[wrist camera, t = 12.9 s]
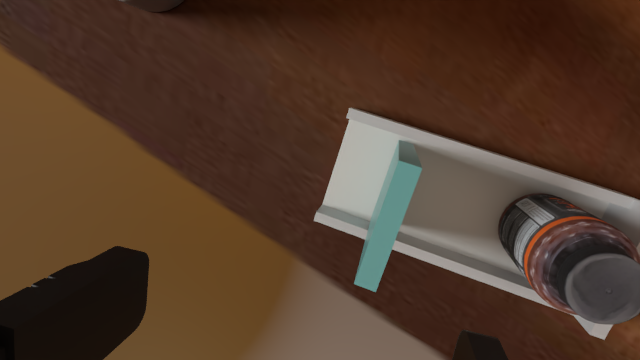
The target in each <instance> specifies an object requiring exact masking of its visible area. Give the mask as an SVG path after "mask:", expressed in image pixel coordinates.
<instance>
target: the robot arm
mask: <svg viewBox="0 0 640 360" xmlns="http://www.w3.org/2000/svg"><path fill="white" fill-rule="evenodd" d="M118 1H121V2H124V3H126V4H129V5H131V6H134V7H137V8H139V9H142V10H145V11H149V12H162V11H167V10H170V9H172V8H174V7H176V6H178V5H179V4H180V3H182V2H183V1H184V0H118ZM148 271H149V258H148V255H147V254H146V253H145V252H141V251H137V250H133V249H129V248H124V247H120V246H115V247H113V248H111V249H109V250H107V251H105V252H103V253H102V254H100V255H98V256H96V257H94V258H92V259H90V260H88V261H84V262H81V263H77V264H73V265H70V266H67V267H65V268H63V269H61V270H59V271H57V272H55V273H53V274H51V275H50V276H48V278H47V279H46V278H44V279H42V280H40V281H38V282H36V283H34V284H32V286H31V287H26V288H24V289H22V290H21V291H19V292H17V293H15V294H13V295H11V296H9V297H7V298H5V299H3V300H1V301H0V360H103V359H104V358H105V357H106V356H107V355H109V354H110V353H111V352H112V351H113V350H114V349H115V348H116V347H117V346H118V345H120V344H121V343H122V342H123V341H124V340H125V339H126V338H127V337H128V336H130V335H131V334H132V333H133V332H134V331H135V330H136V329H137V327H138V326H139V324H140V323H141V321H142V319H143V316H144V313H145V310H146V301H147V287H148ZM452 360H508V358H507V356H506V354H505V352H504V350H503V347H502V345H501V343H500V341H499V340H498V338H496V337H492V336H487V335H483V334H479V333H475V332H471V331H467V330H462V331H461V333H460V335H459V337H458V340H457V344H456V348H455V351H454V355H453V358H452Z"/></svg>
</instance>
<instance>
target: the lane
mask: <svg viewBox="0 0 640 360" xmlns="http://www.w3.org/2000/svg"><path fill="white" fill-rule="evenodd" d="M346 118H348V119H350V120H349V123H348V126H347V129H346V132H345V135H344V138H343V142H342V145H341V148H340V151H339V154H338V157H337V160H336V163H335V167H334V170H333V173H332V176H331V179H330V182H329V185H328V188H327V192H326V195H325V198H324V201H323V204H322V206H321V207H320V208H319V209H318V210H317V212H316V215H315V218H314V221H316V222H319V223H322V224H325V225H327V226H330V227H333V228H335V229H338V230H341V231H344V232H346V233H349V234H352V235H355V236H357V237H360V238H363V239H366V236H367V232H368V228H369V224H370V220H371V217H372V214H373V211H374V208H375V205H376V203H377V200H378V197H379V194H380V191H381V188H382V186H383V183H384V180H385V177H386V174H387V172H388V169H389V166H390V163H391V160H392V158H393V155H394V152H395V149H396V146H397V144H398V141H399V140H402V141H405V142H408V143H411V144H413V145H414V148H415V150H416V153H417V155H418V158H419V161H420V163H421V166H422V171H421V173H420V176H419V179H418V181H417V184H416V187H415V189H414V192H413V195H412V197H411V200H410V202H409V205H408V208H407V210H406V213H405V216H404V218H403V221H402V224H401V226H400V229H399V232H398V234H397V237H396V240H395V242H394V245H393V247H392V249H393V250H396V251H398V252H401V253H404V254H407V255H409V256H412V257H415V258H418V259H420V260H423V261H426V262H429V263H431V264H434V265H437V266H440V267H442V268H445V269H448V270H451V271H453V272H456V273H459V274H461V275H464V276H467V277H470V278H472V279H475V280H478V281H481V282H483V283H486V284H489V285H492V286H494V287H497V288H500V289H503V290H505V291H508V292H511V293H513V294H516V295H519V296H522V297H524V298H527V299H530V300H533V301H535V302H538V303H541V304H544V305H546V306H549V307H552V308H554V307H553V306H551V305H549V304H548V303H547V302H546V301H544V300H543V299H542V298H541V297H540V296H539V295H538V294H537V293H536V292H535V290H534V289H533V288H532V286H531V285H530V284H529V282H528V281H527V280H526V278H525V277H524V276H523V274H522V273H521V272H520V270H519V269H518V267H517V266H516V265H515V263H514V262H513V261H512V259H511V258H510V257H509V255H508V254H507V252H506V251H505V249H504V248H503V246H502V244H501V241H500V239H499V235H498V224H499V220H500V217H501V215H502V213H503V212H504V210H505V209H506V208H507V207H508V206H509V204H511V203H512V202H513V201H515V200H516V199H518V198H520V197H522V196H525V195H528V194H533V193H544V194H550V195H554V196H557V197H560V198H562V199H565V200H566V201H569V202H570V203H572V204H573V205H576V206H577V207H579V208H581V209H583V210H584V211H586V212H588V213H590V214H593V215H594V216H596V217H598V218H600V219H601V220H604V221H606V222H607V223H608V224H610V225H612V226H614V227H616V228H617V229H619V230H620V231H622V232H623V233H624V234H625V235H626V236H627V237H628V238H629V239H630V240H631V241H632V242H633V244H634V245H635V247H636V248H637V250H638V253H639V255H640V200H639V199H637V198H634V197H631V196H629V195H626V194H623V193H620V192H617V191H614V190H611V189H608V188H605V187H602V186H599V185H595V184H592V183H589V182H586V181H583V180H580V179H577V178H573V177H570V176H567V175H564V174H561V173H558V172H555V171H551V170H548V169H545V168H542V167H539V166H536V165H533V164H529V163H526V162H523V161H520V160H517V159H514V158H511V157H507V156H504V155H501V154H498V153H495V152H492V151H489V150H485V149H482V148H479V147H476V146H473V145H470V144H467V143H463V142H460V141H457V140H454V139H451V138H448V137H445V136H441V135H438V134H435V133H432V132H429V131H426V130H423V129H419V128H416V127H413V126H410V125H407V124H404V123H401V122H397V121H394V120H391V119H388V118H385V117H382V116H379V115H375V114H372V113H369V112H366V111H363V110H360V109H357V108H349V111H348V114H347V117H346ZM555 309H556V308H555ZM557 310H558V309H557ZM568 314H569V313H568ZM571 315H574V314H571ZM574 317H575V318H576V319H577V320H578V321H579V323H580V324H581V325H582V326H583V327H584V328H585V330H586V331H587V332H588V333H589V334H590V335H593V336H595V337H598V338H601V339H605V338H606V336H607V334H608V332H609V331H610V329H611V327H612V325H613V324H612V325H610V324H606V325H605V324H597V323H593V322H590V321H588V320H586V319H584V318H582V317H580V316H579V315H574Z"/></svg>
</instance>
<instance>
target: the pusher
mask: <svg viewBox="0 0 640 360" xmlns="http://www.w3.org/2000/svg"><path fill="white" fill-rule="evenodd" d="M421 171H422V166H421V163H420V161H419V158H418V155H417V153H416V150H415V148H414V145H413V144H411V143H408V142H405V141H402V140H399V141H398V144H397V146H396V149H395V152H394V155H393V158H392V160H391V163H390V166H389V169H388V172H387V174H386V177H385V180H384V183H383V186H382V188H381V191H380V194H379V197H378V200H377V203H376V205H375V208H374V211H373V214H372V217H371V220H370V224H369V228H368V232H367V236H366V240H365V244H364V247H363V251H362V255H361V259H360V263H359V267H358V271H357V275H356V278H355V282H354V284H356V285H358V286H361V287H363V288H366V289H369V290H371V291H374V292H376V290H377V287H378V285H379V282H380V279H381V277H382V274H383V271H384V269H385V266H386V263H387V261H388V258H389V255H390V253H391V250H392V247H393V245H394V242H395V240H396V237H397V234H398V232H399V229H400V226H401V224H402V221H403V218H404V216H405V213H406V210H407V208H408V205H409V202H410V200H411V197H412V195H413V192H414V189H415V187H416V184H417V181H418V179H419V176H420V173H421Z"/></svg>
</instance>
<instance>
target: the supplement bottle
mask: <svg viewBox="0 0 640 360" xmlns="http://www.w3.org/2000/svg"><path fill="white" fill-rule="evenodd" d="M498 235H499V239H500V241H501V244H502V246H503V248H504V249H505V251H506V252H507V254H508V255H509V257H510V258H511V259H512V261H513V262H514V263H515V265H516V266H517V267H518V269H519V270H520V272H521V273H522V274H523V276H524V277H525V278H526V280H527V281H528V282H529V284H530V285H531V286H532V288H533V289H534V290H535V292H536V293H537V294H538V295H539V296H540V297H541V298H542V299H543V300H544V301H546V302H547V303H548V304H549V305H551V306H553V307H554V308H556V309H558V310H560V311H563V312H566V313H569V314H574V315H579V316H580V317H582V318H584V319H586V320H588V321H590V322H593V323H597V324H605V325H606V324H610V325H612V324H618V323H622V322H625V321H628V320H630V319H632V318H634V317H635V316H637V315H638V314H639V313H640V255H639V253H638V250H637V248H636V247H635V245H634V244H633V242H632V241H631V240H630V239H629V238H628V237H627V236H626V235H625V234H624V233H623V232H622V231H620V230H619V229H617V228H616V227H614V226H612V225H610V224H608V223H607V222H606V221H604V220H601V219H600V218H598V217H596V216H594V215H593V214H590V213H588V212H586V211H584V210H583V209H581V208H579V207H577V206H576V205H573V204H572V203H570V202H569V201H566V200H565V199H562V198H560V197H557V196H554V195H550V194H544V193H533V194H528V195H525V196H522V197H520V198H518V199H516V200H515V201H513V202H512V203H511V204H509V206H508V207H507V208H506V209H505V210H504V212H503V213H502V215H501V217H500V220H499V224H498Z"/></svg>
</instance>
